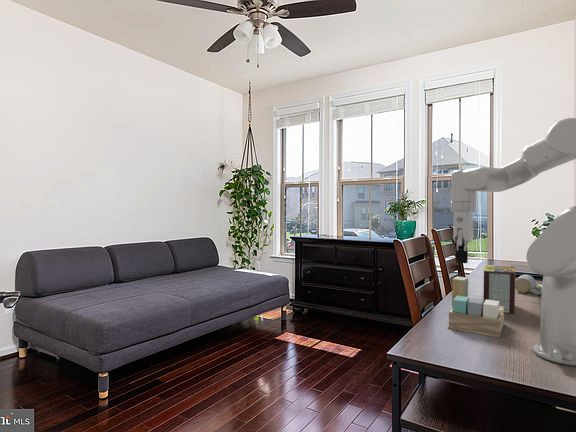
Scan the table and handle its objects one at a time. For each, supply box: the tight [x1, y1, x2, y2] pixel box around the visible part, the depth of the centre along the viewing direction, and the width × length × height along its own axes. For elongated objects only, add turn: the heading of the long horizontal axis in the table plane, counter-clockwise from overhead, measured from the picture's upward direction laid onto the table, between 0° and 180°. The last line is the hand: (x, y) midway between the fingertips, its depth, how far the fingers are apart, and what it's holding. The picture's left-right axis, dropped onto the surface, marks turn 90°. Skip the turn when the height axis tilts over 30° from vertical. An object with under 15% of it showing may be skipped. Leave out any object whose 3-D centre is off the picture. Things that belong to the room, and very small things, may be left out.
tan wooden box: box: [447, 306, 505, 339], centre depth 121 cm, size 16×15×6 cm
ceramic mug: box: [515, 274, 542, 296], centre depth 169 cm, size 11×8×8 cm
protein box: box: [482, 264, 516, 315], centre depth 143 cm, size 10×15×16 cm
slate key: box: [468, 296, 484, 317], centre depth 119 cm, size 7×4×5 cm, turn 145°
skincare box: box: [451, 276, 469, 309], centre depth 140 cm, size 6×4×12 cm
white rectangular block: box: [483, 299, 499, 319], centre depth 116 cm, size 7×4×5 cm, turn 145°
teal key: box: [453, 296, 470, 314], centre depth 121 cm, size 7×4×5 cm, turn 145°
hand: (461, 262), depth 121 cm, fingers closed
